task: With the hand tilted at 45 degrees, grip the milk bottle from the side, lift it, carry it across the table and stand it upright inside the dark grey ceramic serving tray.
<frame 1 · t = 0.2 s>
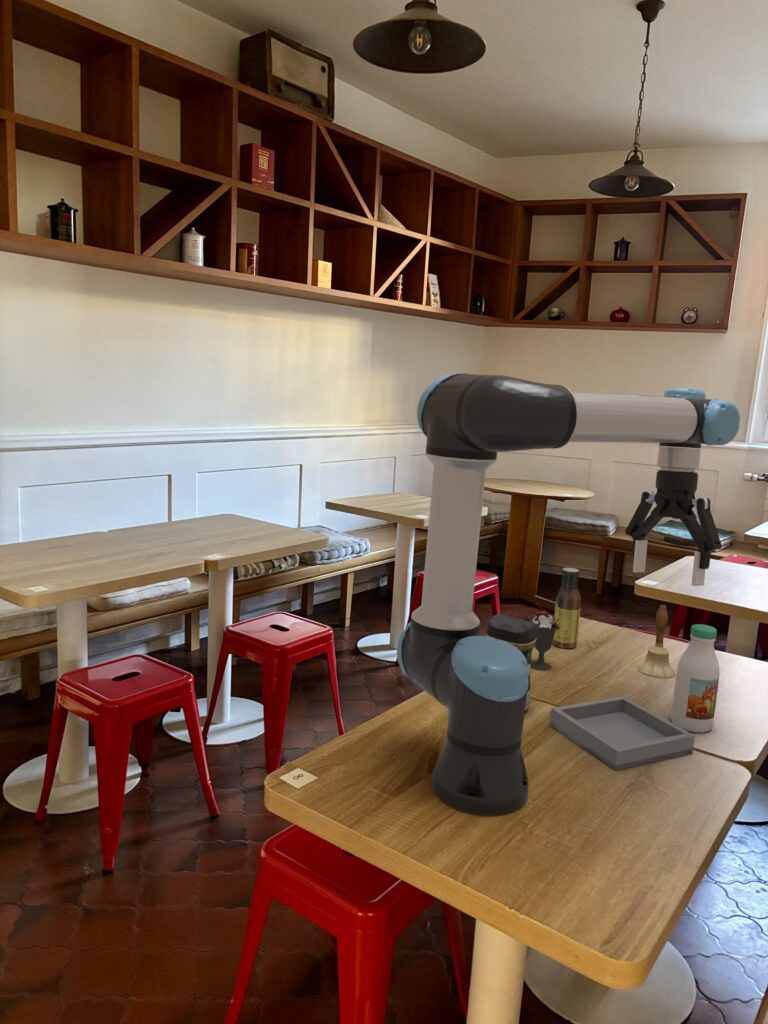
hand: (667, 578, 147), 28 cm above the table, tool pointing down, fingers open, 13 cm apart
coffee jar: (504, 707, 151), on the table
sundae: (540, 667, 174), on the table
sauce bottle: (563, 646, 190), on the table
serving tray: (618, 739, 140), on the table
hand bell: (655, 672, 176), on the table
milk bottle: (690, 725, 148), on the table
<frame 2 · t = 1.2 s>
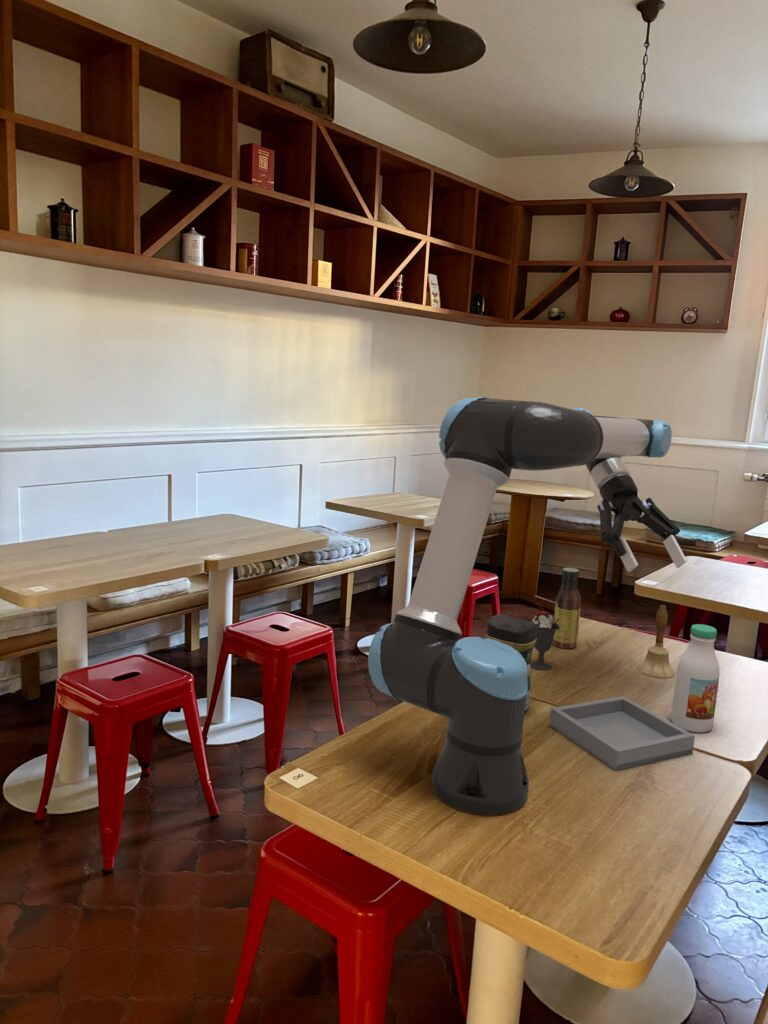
hand: (658, 566, 155), 29 cm above the table, tool tilted 45°, fingers open, 13 cm apart
nothing on the table moved.
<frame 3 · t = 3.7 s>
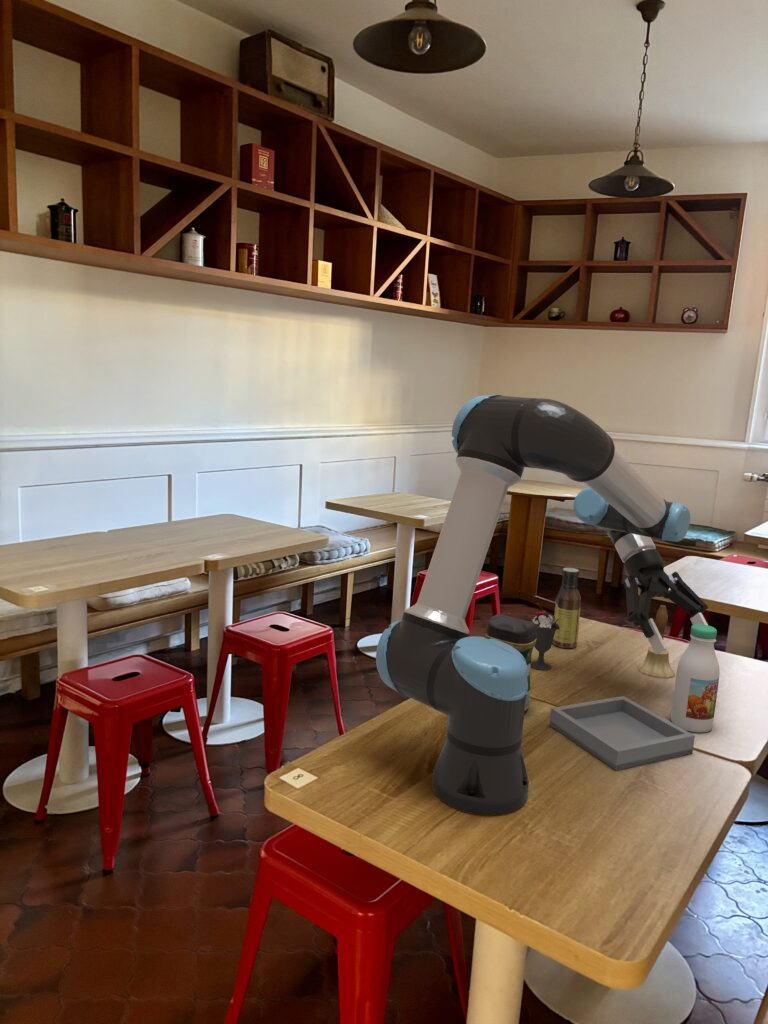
hand: (686, 648, 150), 14 cm above the table, tool tilted 45°, fingers open, 13 cm apart
nothing on the table moved.
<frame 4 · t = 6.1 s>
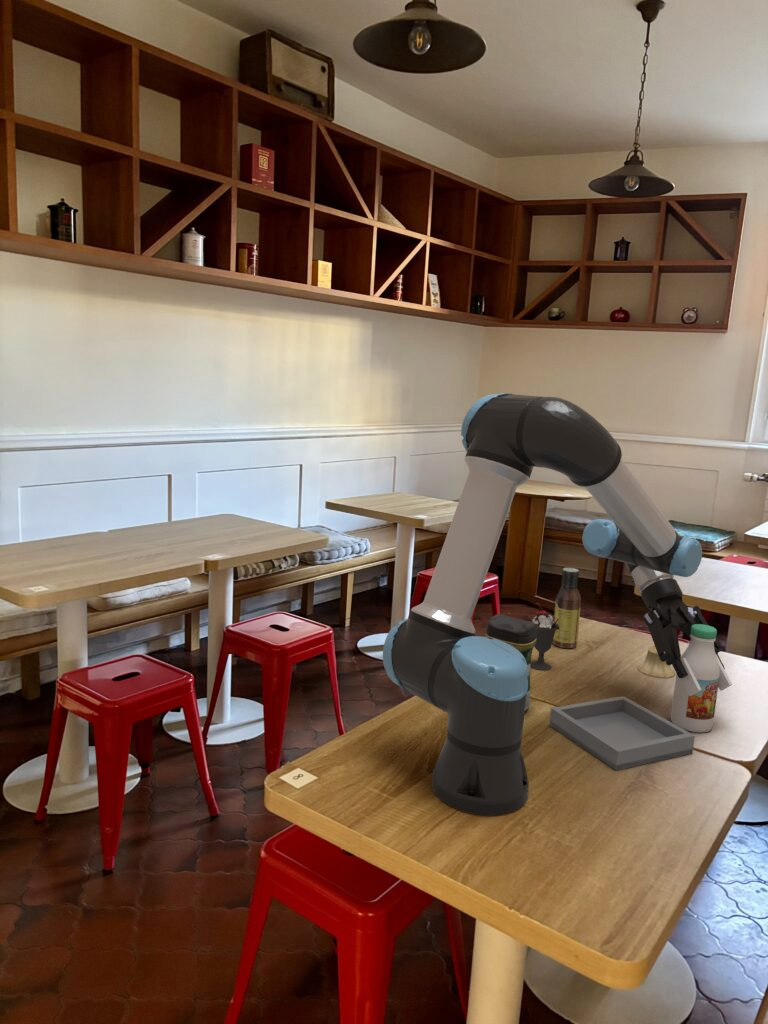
hand: (711, 690, 143), 9 cm above the table, tool tilted 45°, fingers closed on milk bottle, 7 cm apart
milk bottle: (690, 725, 148), on the table, touching gripper
everything else where it was.
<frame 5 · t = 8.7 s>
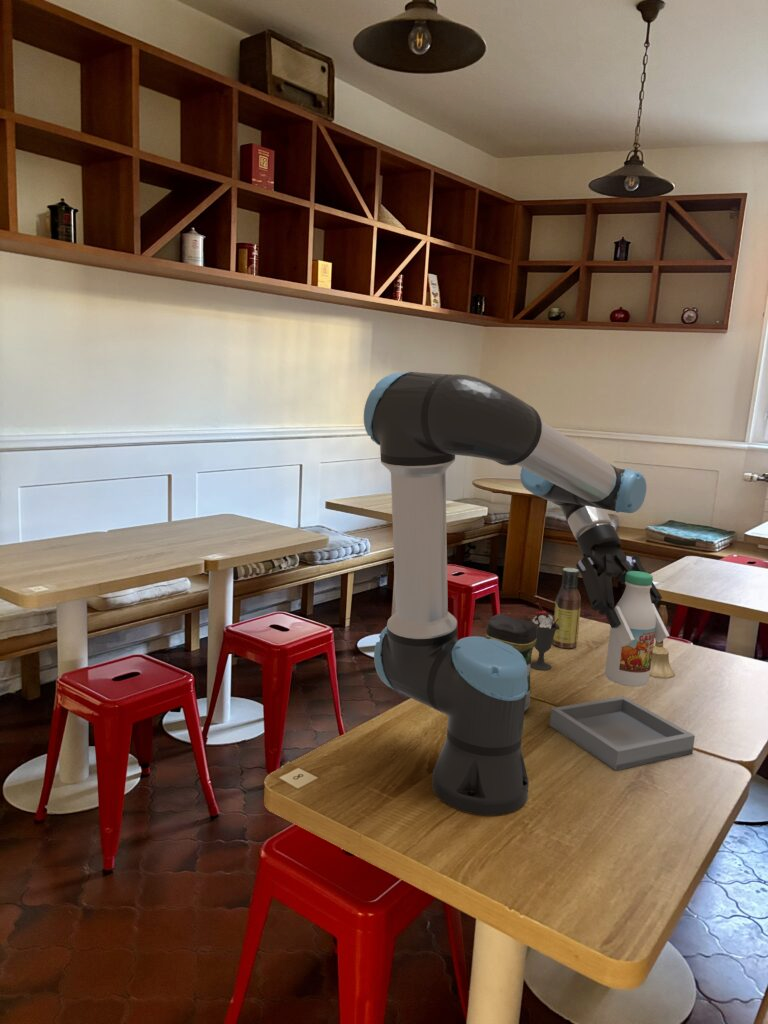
hand: (645, 640, 133), 20 cm above the table, tool tilted 45°, fingers closed on milk bottle, 7 cm apart
milk bottle: (626, 680, 138), point 11 cm above the table, touching gripper
everything else where it was.
when the fingers open (11 cm above the table, at t = 11.4 s): milk bottle drops 1 cm, resting on serving tray.
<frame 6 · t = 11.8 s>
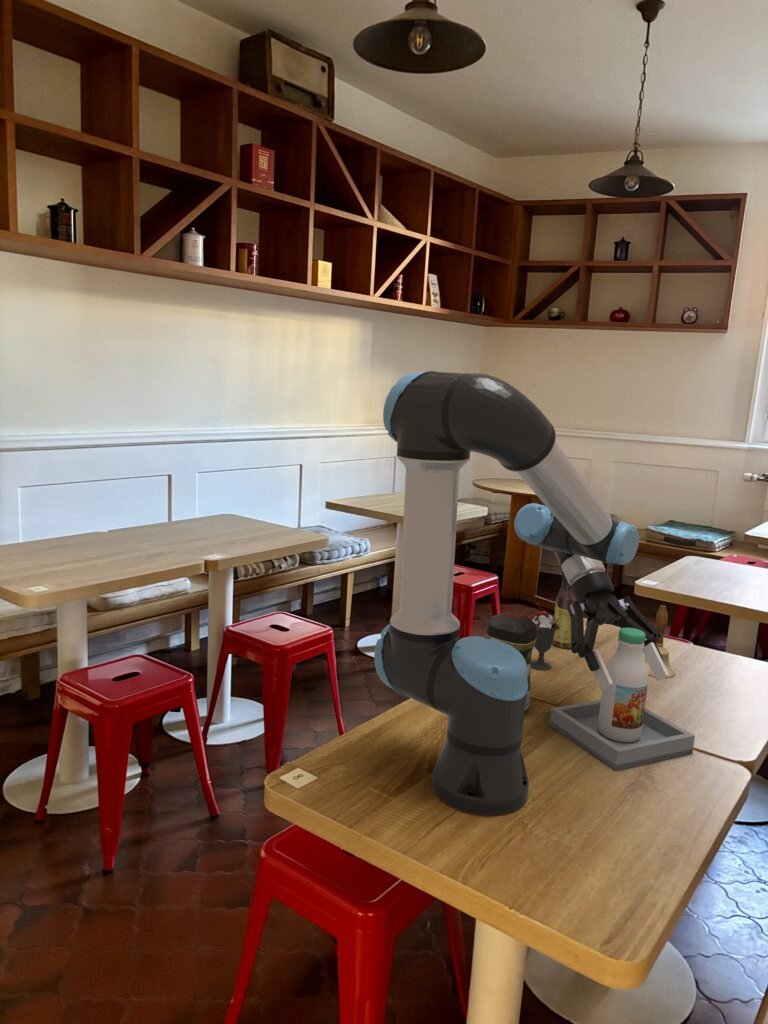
hand: (635, 682, 136), 12 cm above the table, tool tilted 45°, fingers open, 13 cm apart
milk bottle: (618, 734, 140), point 1 cm above the table, touching serving tray
everything else where it was.
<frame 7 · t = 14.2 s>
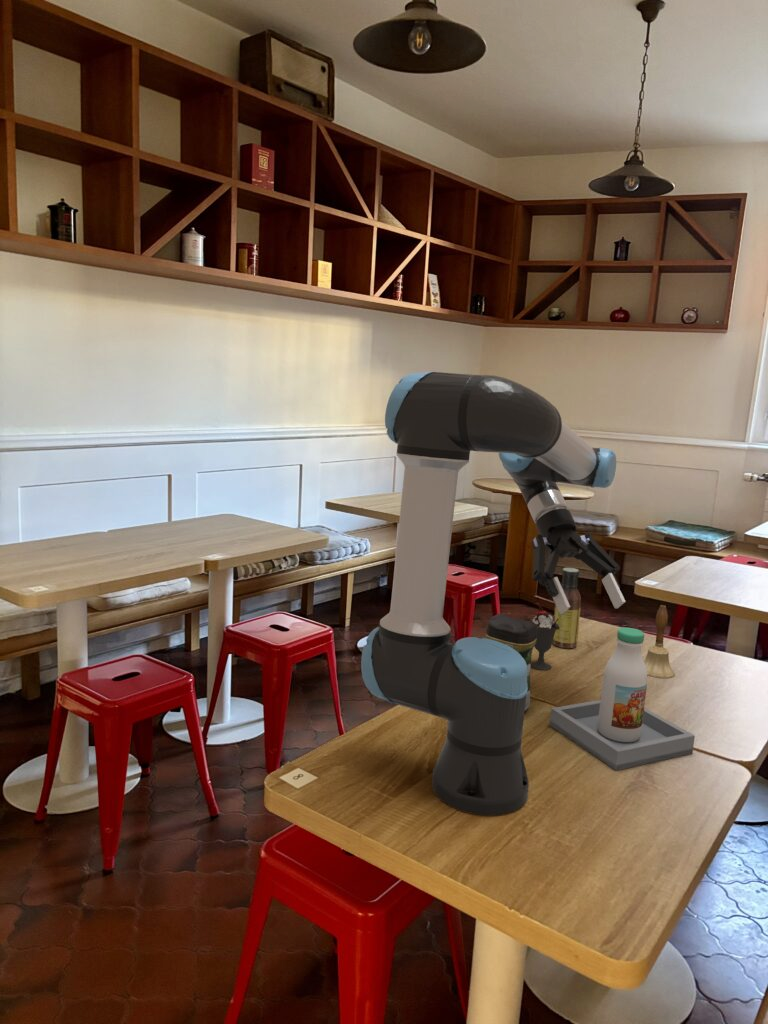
hand: (593, 608, 145), 22 cm above the table, tool tilted 45°, fingers open, 13 cm apart
nothing on the table moved.
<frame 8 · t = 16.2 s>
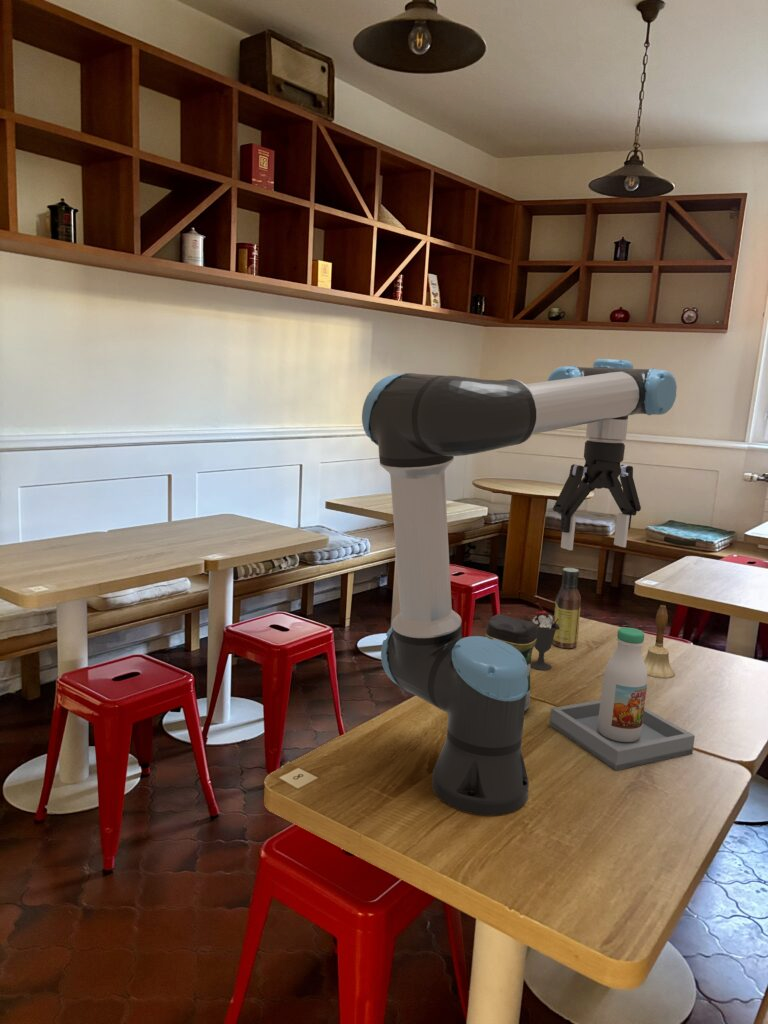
hand: (593, 547, 150), 33 cm above the table, tool pointing down, fingers open, 13 cm apart
nothing on the table moved.
at the end: milk bottle inside the target area on the serving tray (0.2 cm from its centre), point 0.8 cm above the serving tray's base; milk bottle tilted 0°; the gripper is holding nothing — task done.
